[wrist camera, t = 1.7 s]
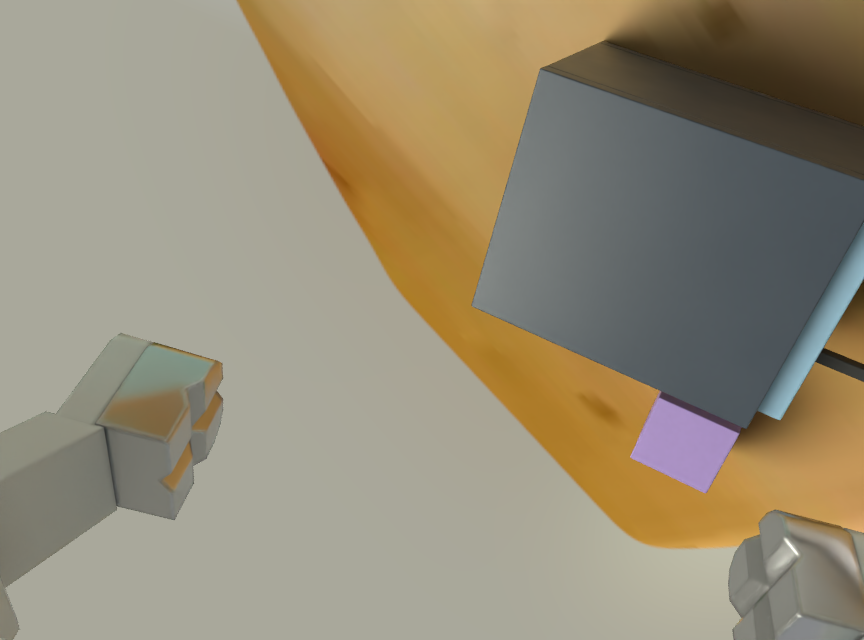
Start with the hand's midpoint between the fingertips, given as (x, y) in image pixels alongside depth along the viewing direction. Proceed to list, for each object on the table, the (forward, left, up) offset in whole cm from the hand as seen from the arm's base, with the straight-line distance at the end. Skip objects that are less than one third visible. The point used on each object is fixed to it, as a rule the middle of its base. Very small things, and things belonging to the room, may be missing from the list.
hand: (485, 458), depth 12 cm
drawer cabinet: (+6, +3, -34) cm, 35 cm away
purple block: (+13, +13, -34) cm, 39 cm away
